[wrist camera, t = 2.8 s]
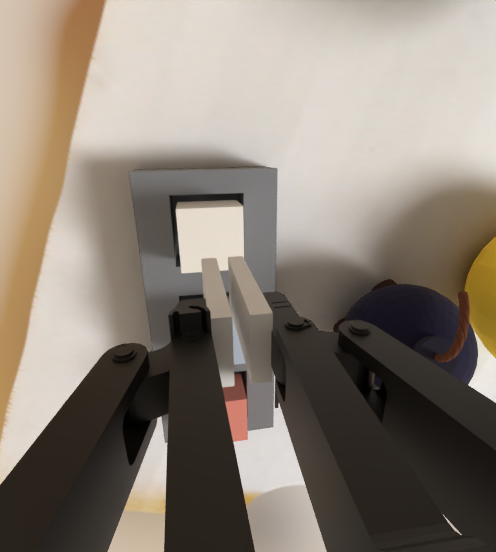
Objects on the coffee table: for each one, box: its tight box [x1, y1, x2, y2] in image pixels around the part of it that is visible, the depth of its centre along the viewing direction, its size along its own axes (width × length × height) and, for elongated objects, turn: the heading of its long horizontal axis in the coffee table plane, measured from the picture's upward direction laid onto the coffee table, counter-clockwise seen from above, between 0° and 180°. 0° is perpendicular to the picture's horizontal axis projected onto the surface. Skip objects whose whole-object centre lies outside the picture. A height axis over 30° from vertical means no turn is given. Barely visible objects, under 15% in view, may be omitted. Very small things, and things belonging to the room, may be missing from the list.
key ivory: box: [176, 200, 244, 273], centre depth 27 cm, size 5×5×4 cm
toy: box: [333, 279, 478, 388], centre depth 32 cm, size 12×14×15 cm
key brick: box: [223, 374, 248, 442], centre depth 33 cm, size 5×5×4 cm
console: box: [129, 167, 277, 443], centre depth 33 cm, size 28×12×4 cm, turn 1°
